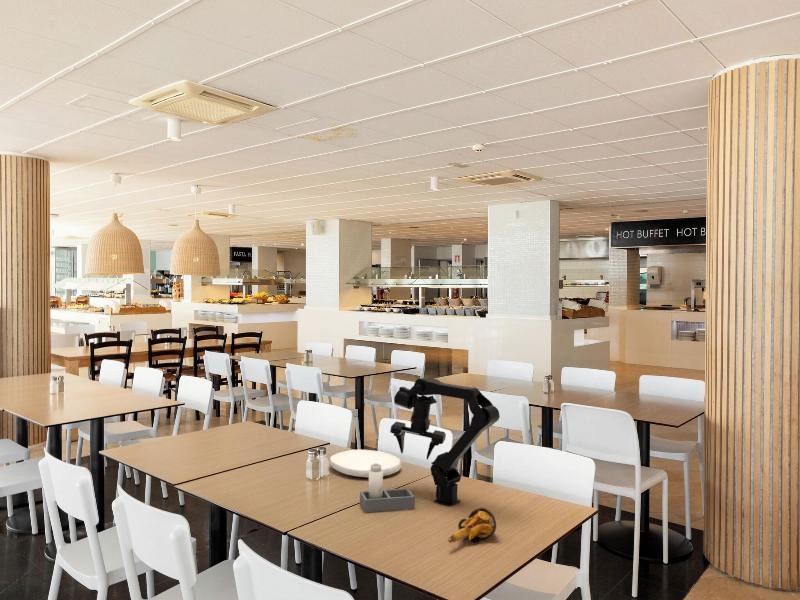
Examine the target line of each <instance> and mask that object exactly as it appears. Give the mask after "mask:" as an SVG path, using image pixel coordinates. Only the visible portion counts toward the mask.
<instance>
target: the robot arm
mask: <svg viewBox="0 0 800 600" xmlns="http://www.w3.org/2000/svg"><path fill="white" fill-rule="evenodd" d="M435 395H438V396H444V397H450V398H454V399H461V400H464V401H466V402H467V404H468V408H469V411H470V412H471V414H472V417H471V420H470V425H469V426H468V428H466V429H465V431H464V433H462V435H461V436H460V438H459V439H458V440H457V441H456V442H455V444H454V445H453V446H452V447H451V448H450V449H449V450H448V451H445V452H443V453H440V454H438V455H437V456H436V458H435V459H434V461H432V462H431V466H430V474H431V476H432V479H433V482H434V486H435V494H436V495H435V499H434V500H433V502H434V503H438V504H441V505H444V506H448V507H449V506H453V505H455V504H457V503H459V502H460V501H461V499H459V498H458V489H459V488H458V484H457V483H460V481H461V479H462V475H461V474H460V472H459V471H458V470H457V467H458V465H459V462H460V460H461V458H462V457H463V456H464V455H465V453H466V452H467V451H468V450H469V449H470V447H471V446H472V445H473V444H474V442H475V441H476V440H477V439H478V438H479V437H480V435H481V434H482V433H483V432H484V431H486V430H487V429H489V428H490V427H492V426H494V424H495V423H497V422H498V421H499V419H500V411H499V409H498V408H497V407H496V406H495V405H493V403H492V402H491V400H489V398H487V396H485V395H484V394H483V393H482V392H481V390H479V388H477V387H475V386H472V387H471V386H463V385H457V384H452V383H451V384H450V383H444V382H441V381H440V380H439V379H436V378H434V377H431V376H425V377H421V378H418V379H416V380H415V382H414V384H413V386H412V387H410V389H409V388H407V387H405V386H400V387H399V388H398V390H397V392H396V393H395V395H394V396H393V397H394V398H393V400H394V404H395V405H396V406H399V407H401V408H403V409H407V410H412V409H413V410H412V414H411V416H410V426H409V427H408V426H406V425H407V424H406V423H404V422H401V421H395V422H394V423H392V425H391V426H390V431H389V433H391V434H393V437H395V438H396V440H397V443H398V446H399V450H400V453H401V454H404V448H405V435H406V433H407V434H412V435H415V436H420V437H424V438H428V439H431V440H430V443H429V445H428V448H427V449H428V450H427V454H426V460H429V457H430V456H431V454H432V451H433V450H434V448H435V446H436V447H437V446H439V445H443V443H444V442H445V440H446V437H447V436H446V435H447V434H446V432H445V431H442V430H441V431H440V430H436V429H435V430H434V431H433V432H431V431H429V429H430V425H431V419H430V411H431V405H433V404H437V402H438V401H437V400H436V399H435V397H434V396H435Z"/></svg>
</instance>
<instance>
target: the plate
mask: <svg viewBox="0 0 800 600" xmlns="http://www.w3.org/2000/svg"><path fill="white" fill-rule="evenodd" d="M374 463H377V464H379V465H381V469H382V470H383V477H386V476H390V475H393V474H395V473H397V472H398V471H400V470H401V468H402V462H401V458H398V457H397V456H395V455H394V454H390V453H388V452H383V451H379V450H371V449H351V450H344V451H341V452H337V453H335V454H333V455H331V456H330V458H329V465H330V468H333V469H334V470H336V471H337V472H339V473H342V474H344V475H346V476H347V475H348V476H352V477H359V478H369V470H370V469H371V465H373V464H374Z"/></svg>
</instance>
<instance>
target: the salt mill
mask: <svg viewBox="0 0 800 600" xmlns="http://www.w3.org/2000/svg"><path fill="white" fill-rule="evenodd" d="M383 483H384V476H383V470H382V469H381V465H379V464H377V463H374V464H373V465H371V469H370V470H369V477H368V491H369V499H377V498H383V490H384V484H383Z"/></svg>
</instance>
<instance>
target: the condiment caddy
mask: <svg viewBox="0 0 800 600" xmlns="http://www.w3.org/2000/svg"><path fill="white" fill-rule="evenodd" d="M415 498H416V497H415V495H414V494H413V493H412V492H411V490H410V489H409V488H408V487H406V488H393V489H383V498H377V499H369V490H365V491H364V490H363V491H359V505H360V507H361V506H362V507H361V509H362V511H363V512H364V514H365V513H367V512H368V513H378V512H379V513H380V512H393V511H404V510H405V511H406V509H408V510H415V504H416V503H415V502H416V501H415Z"/></svg>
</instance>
